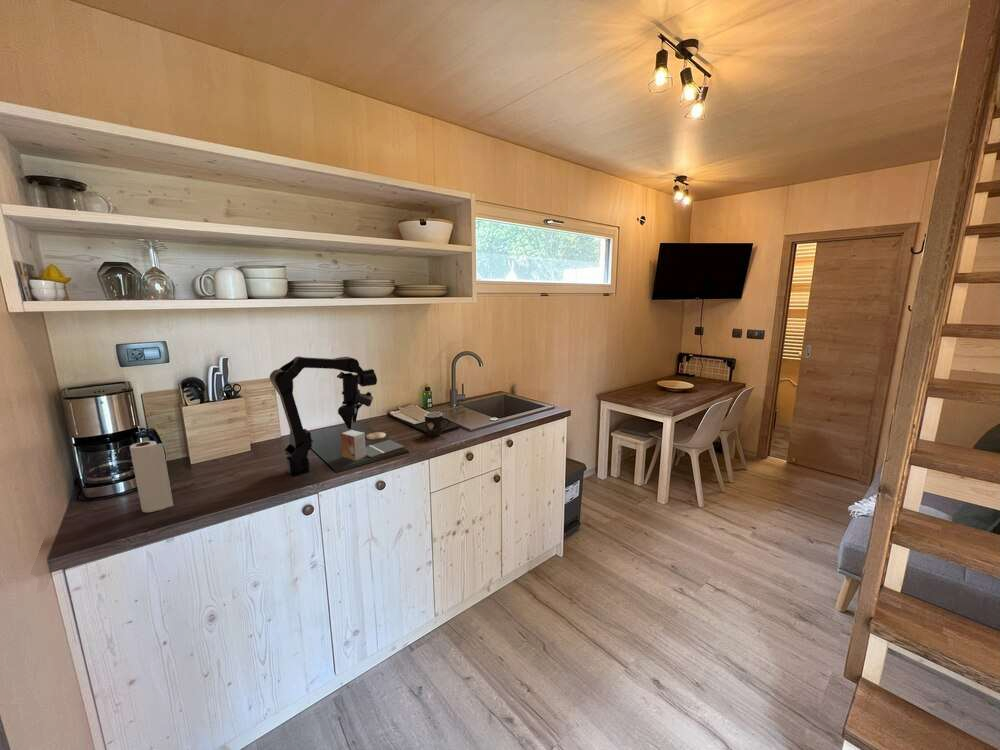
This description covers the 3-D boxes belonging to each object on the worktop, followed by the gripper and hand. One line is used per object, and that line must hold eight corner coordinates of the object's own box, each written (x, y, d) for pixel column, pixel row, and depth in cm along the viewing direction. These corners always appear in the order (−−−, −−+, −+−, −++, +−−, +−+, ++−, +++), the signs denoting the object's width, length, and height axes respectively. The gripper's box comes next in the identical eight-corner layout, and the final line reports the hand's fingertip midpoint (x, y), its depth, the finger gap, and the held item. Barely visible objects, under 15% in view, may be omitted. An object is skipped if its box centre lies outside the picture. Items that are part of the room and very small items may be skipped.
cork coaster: (371, 441, 183) (371, 440, 183) (362, 436, 189) (362, 435, 189) (389, 436, 189) (389, 435, 189) (379, 431, 195) (379, 430, 195)
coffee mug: (421, 434, 191) (420, 414, 189) (435, 430, 198) (434, 410, 196) (437, 440, 184) (436, 419, 182) (451, 435, 190) (450, 415, 188)
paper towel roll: (137, 510, 124) (125, 445, 120) (160, 501, 129) (149, 439, 125) (151, 515, 121) (138, 449, 117) (173, 506, 126) (162, 442, 122)
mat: (370, 458, 164) (370, 456, 164) (356, 450, 172) (356, 448, 172) (404, 447, 175) (404, 446, 175) (389, 440, 183) (389, 439, 183)
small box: (342, 457, 165) (340, 433, 163) (353, 452, 169) (351, 429, 167) (355, 461, 161) (353, 436, 159) (366, 456, 166) (364, 432, 163)
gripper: (367, 393, 153) (368, 432, 156) (374, 383, 171) (376, 418, 174) (336, 393, 151) (338, 432, 154) (347, 383, 170) (349, 419, 172)
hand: (352, 425), depth 164 cm, fingers open, 9 cm apart
